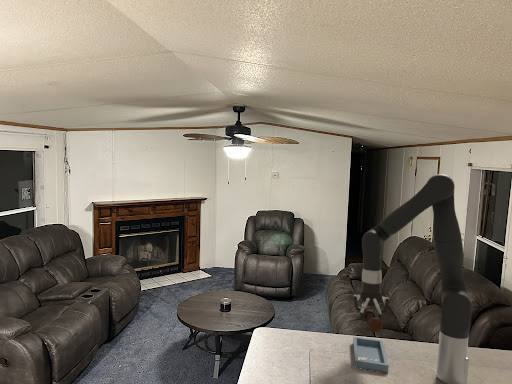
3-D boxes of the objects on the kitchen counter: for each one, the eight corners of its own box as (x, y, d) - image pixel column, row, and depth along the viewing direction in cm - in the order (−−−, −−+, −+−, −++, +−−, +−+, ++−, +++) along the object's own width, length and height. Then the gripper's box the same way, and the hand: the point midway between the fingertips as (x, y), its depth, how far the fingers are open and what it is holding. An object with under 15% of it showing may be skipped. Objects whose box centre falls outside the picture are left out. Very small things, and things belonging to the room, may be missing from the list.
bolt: (368, 320, 156) (377, 335, 141) (357, 314, 156) (365, 328, 141) (375, 309, 155) (385, 322, 140) (364, 302, 156) (373, 315, 141)
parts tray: (382, 347, 159) (382, 340, 159) (388, 373, 139) (388, 365, 139) (353, 343, 162) (353, 336, 162) (354, 368, 141) (355, 360, 141)
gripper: (389, 278, 150) (387, 319, 151) (352, 276, 153) (351, 316, 154) (392, 284, 143) (390, 327, 144) (353, 281, 146) (352, 323, 147)
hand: (370, 321), depth 149 cm, fingers closed on bolt, 5 cm apart
